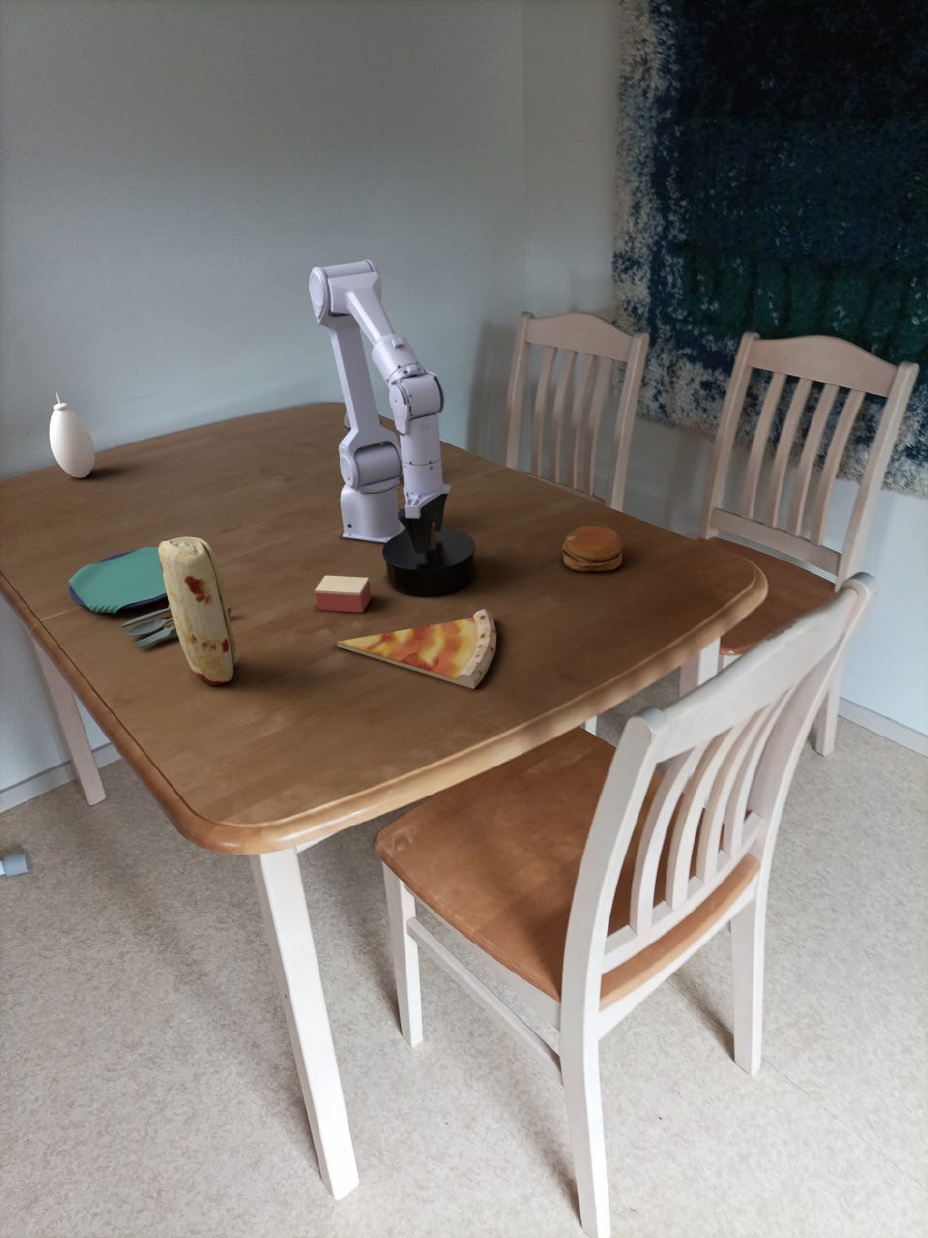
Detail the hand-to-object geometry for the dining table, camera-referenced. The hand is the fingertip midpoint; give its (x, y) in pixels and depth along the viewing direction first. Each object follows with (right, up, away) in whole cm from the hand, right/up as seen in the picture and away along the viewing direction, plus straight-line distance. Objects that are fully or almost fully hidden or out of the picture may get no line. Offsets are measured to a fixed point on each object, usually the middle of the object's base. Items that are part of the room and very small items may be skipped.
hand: (428, 541), depth 135 cm
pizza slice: (+1, -15, -13) cm, 20 cm away
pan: (0, -5, +3) cm, 6 cm away
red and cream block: (-12, -10, -3) cm, 16 cm away
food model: (-28, -20, -18) cm, 39 cm away
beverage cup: (-13, +16, +39) cm, 44 cm away
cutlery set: (-44, -9, +2) cm, 45 cm away
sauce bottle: (-75, +18, +49) cm, 91 cm away
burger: (+26, -3, +5) cm, 27 cm away
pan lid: (0, -1, +1) cm, 2 cm away
